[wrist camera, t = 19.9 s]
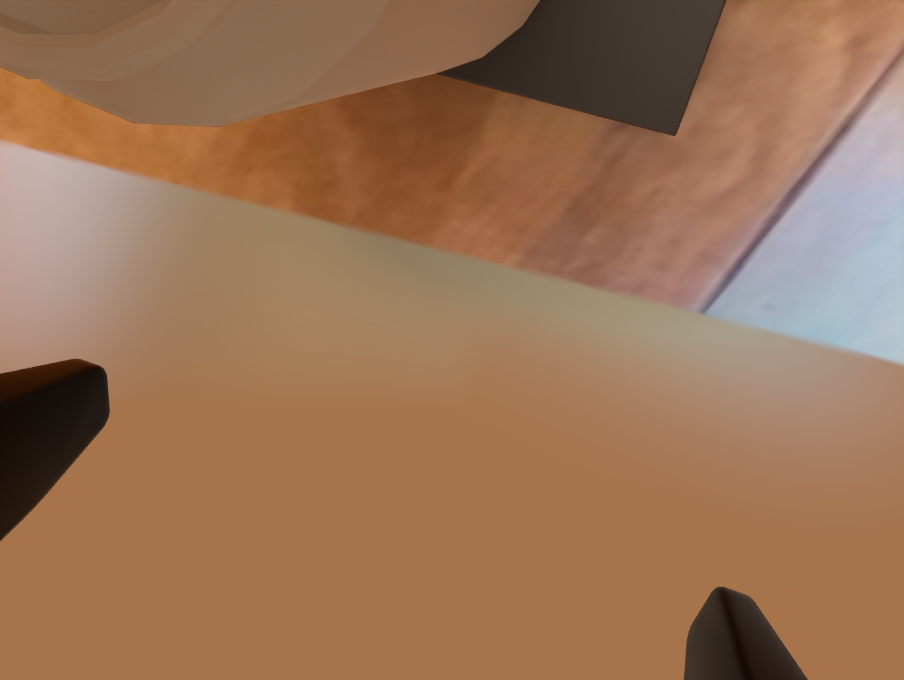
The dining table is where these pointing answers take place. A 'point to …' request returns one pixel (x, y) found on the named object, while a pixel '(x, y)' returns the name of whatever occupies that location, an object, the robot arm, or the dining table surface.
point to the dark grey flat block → (605, 58)
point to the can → (241, 50)
